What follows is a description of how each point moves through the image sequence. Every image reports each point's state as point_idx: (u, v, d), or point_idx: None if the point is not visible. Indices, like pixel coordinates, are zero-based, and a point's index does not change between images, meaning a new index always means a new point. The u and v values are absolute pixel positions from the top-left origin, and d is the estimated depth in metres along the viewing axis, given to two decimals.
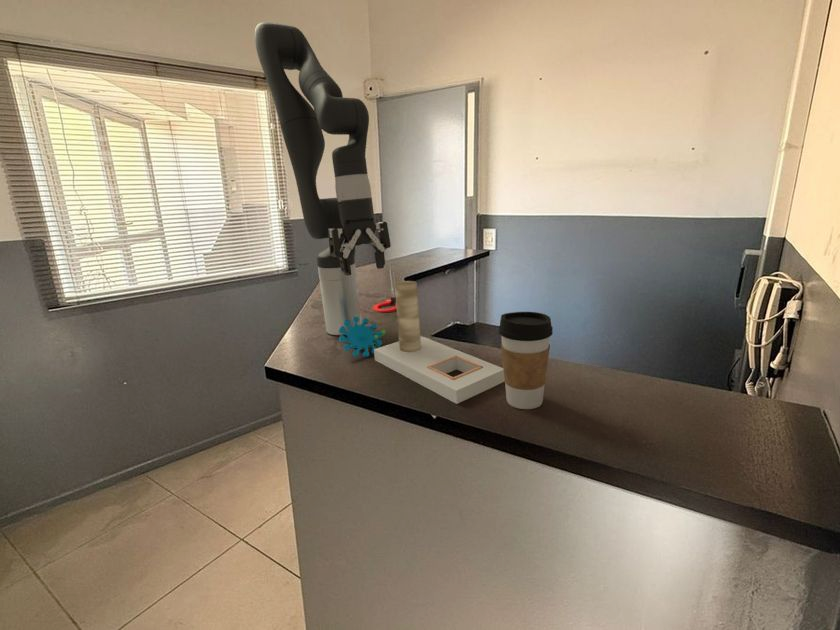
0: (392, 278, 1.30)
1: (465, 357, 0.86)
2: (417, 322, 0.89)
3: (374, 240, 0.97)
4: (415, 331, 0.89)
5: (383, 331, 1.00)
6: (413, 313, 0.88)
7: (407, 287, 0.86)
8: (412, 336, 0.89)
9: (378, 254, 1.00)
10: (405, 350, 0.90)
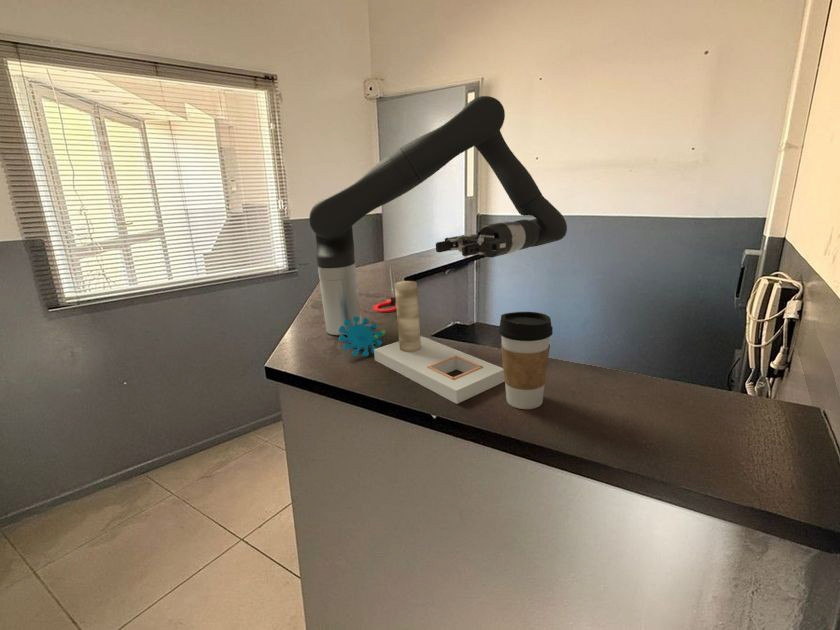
0: (392, 278, 1.30)
1: (465, 357, 0.86)
2: (417, 322, 0.89)
3: None
4: (415, 331, 0.89)
5: (383, 331, 1.00)
6: (413, 313, 0.88)
7: (407, 287, 0.86)
8: (412, 336, 0.89)
9: (449, 248, 0.98)
10: (405, 350, 0.90)
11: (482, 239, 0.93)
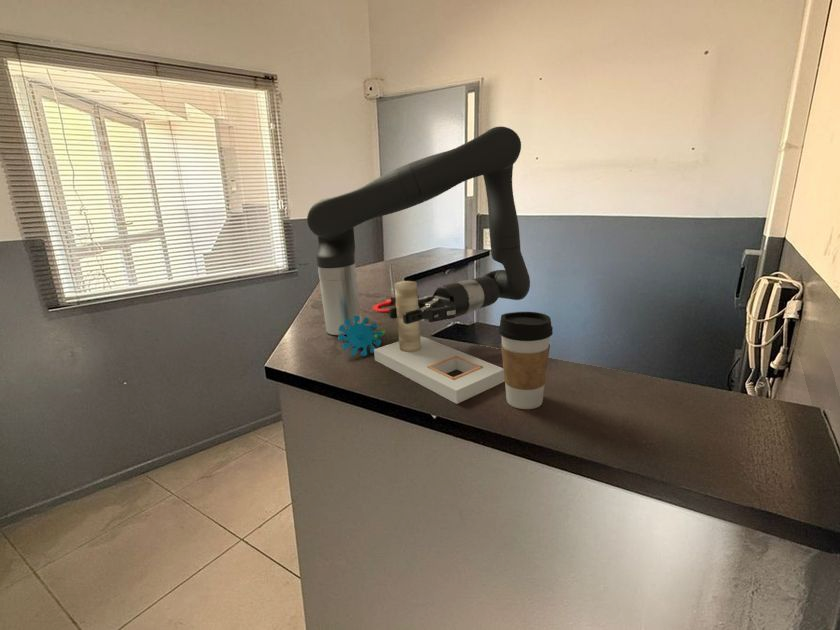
0: (392, 278, 1.30)
1: (465, 357, 0.86)
2: (417, 322, 0.89)
3: None
4: (415, 331, 0.89)
5: (383, 331, 1.00)
6: None
7: (407, 287, 0.86)
8: (412, 336, 0.89)
9: None
10: (405, 350, 0.90)
11: (429, 304, 0.90)
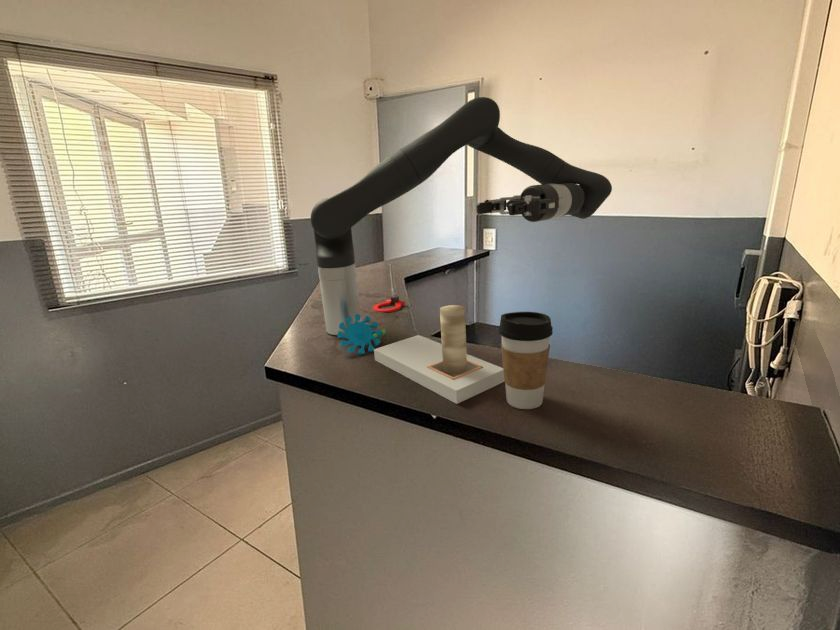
0: (392, 278, 1.30)
1: None
2: (465, 351, 0.80)
3: None
4: (462, 361, 0.80)
5: (383, 330, 1.01)
6: (460, 342, 0.78)
7: (455, 313, 0.76)
8: (459, 367, 0.80)
9: (490, 210, 0.90)
10: None
11: (529, 198, 0.85)
